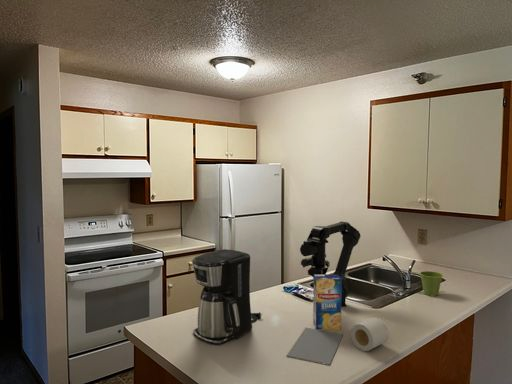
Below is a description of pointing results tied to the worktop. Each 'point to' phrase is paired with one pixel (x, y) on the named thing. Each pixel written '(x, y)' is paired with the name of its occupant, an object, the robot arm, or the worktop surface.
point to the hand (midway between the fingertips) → (318, 285)
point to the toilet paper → (369, 334)
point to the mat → (316, 345)
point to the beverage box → (327, 301)
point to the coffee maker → (223, 296)
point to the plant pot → (431, 282)
